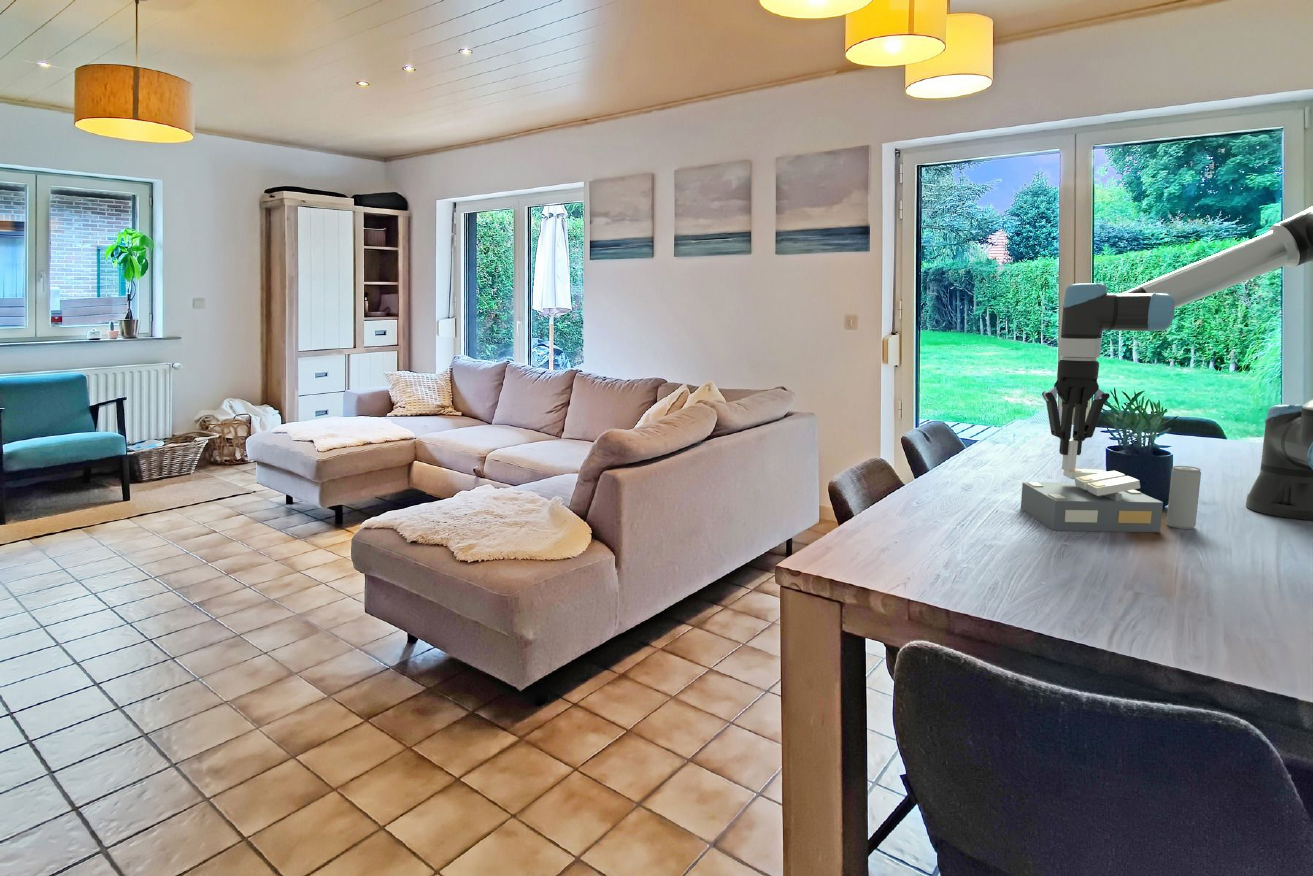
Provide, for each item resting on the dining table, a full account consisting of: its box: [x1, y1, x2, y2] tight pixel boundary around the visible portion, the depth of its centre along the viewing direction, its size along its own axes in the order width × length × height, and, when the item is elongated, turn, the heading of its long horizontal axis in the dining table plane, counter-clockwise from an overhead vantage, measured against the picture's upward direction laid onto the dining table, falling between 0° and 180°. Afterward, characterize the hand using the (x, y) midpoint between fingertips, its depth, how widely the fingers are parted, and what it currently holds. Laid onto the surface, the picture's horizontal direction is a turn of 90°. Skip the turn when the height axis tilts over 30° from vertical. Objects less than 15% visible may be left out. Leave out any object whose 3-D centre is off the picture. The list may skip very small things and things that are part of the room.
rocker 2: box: [1074, 469, 1126, 490], centre depth 155 cm, size 8×4×2 cm, turn 83°
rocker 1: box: [1062, 467, 1108, 480], centre depth 161 cm, size 8×4×2 cm, turn 85°
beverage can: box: [1166, 465, 1202, 530], centre depth 150 cm, size 5×5×12 cm
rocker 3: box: [1087, 475, 1141, 496], centre depth 150 cm, size 8×4×2 cm, turn 83°
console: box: [1020, 481, 1164, 533], centre depth 156 cm, size 20×17×7 cm
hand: (1068, 469), depth 161 cm, fingers closed
